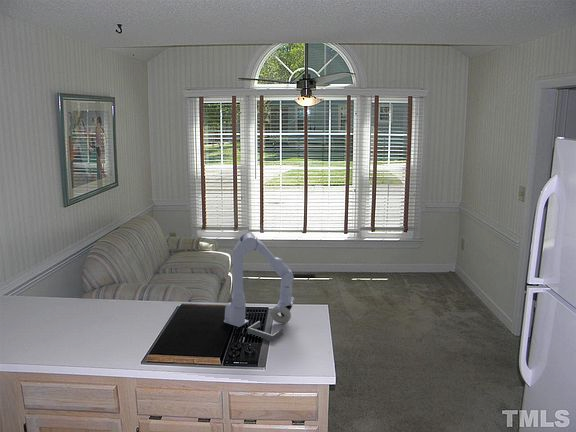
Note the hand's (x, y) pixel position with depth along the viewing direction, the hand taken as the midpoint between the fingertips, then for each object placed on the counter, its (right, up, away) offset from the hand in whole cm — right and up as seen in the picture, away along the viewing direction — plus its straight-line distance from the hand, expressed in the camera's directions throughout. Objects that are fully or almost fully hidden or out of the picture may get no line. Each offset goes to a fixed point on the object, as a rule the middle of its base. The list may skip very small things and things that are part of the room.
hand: (284, 319), depth 249 cm
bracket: (-9, -4, -14) cm, 17 cm away
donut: (-1, -1, -2) cm, 3 cm away
